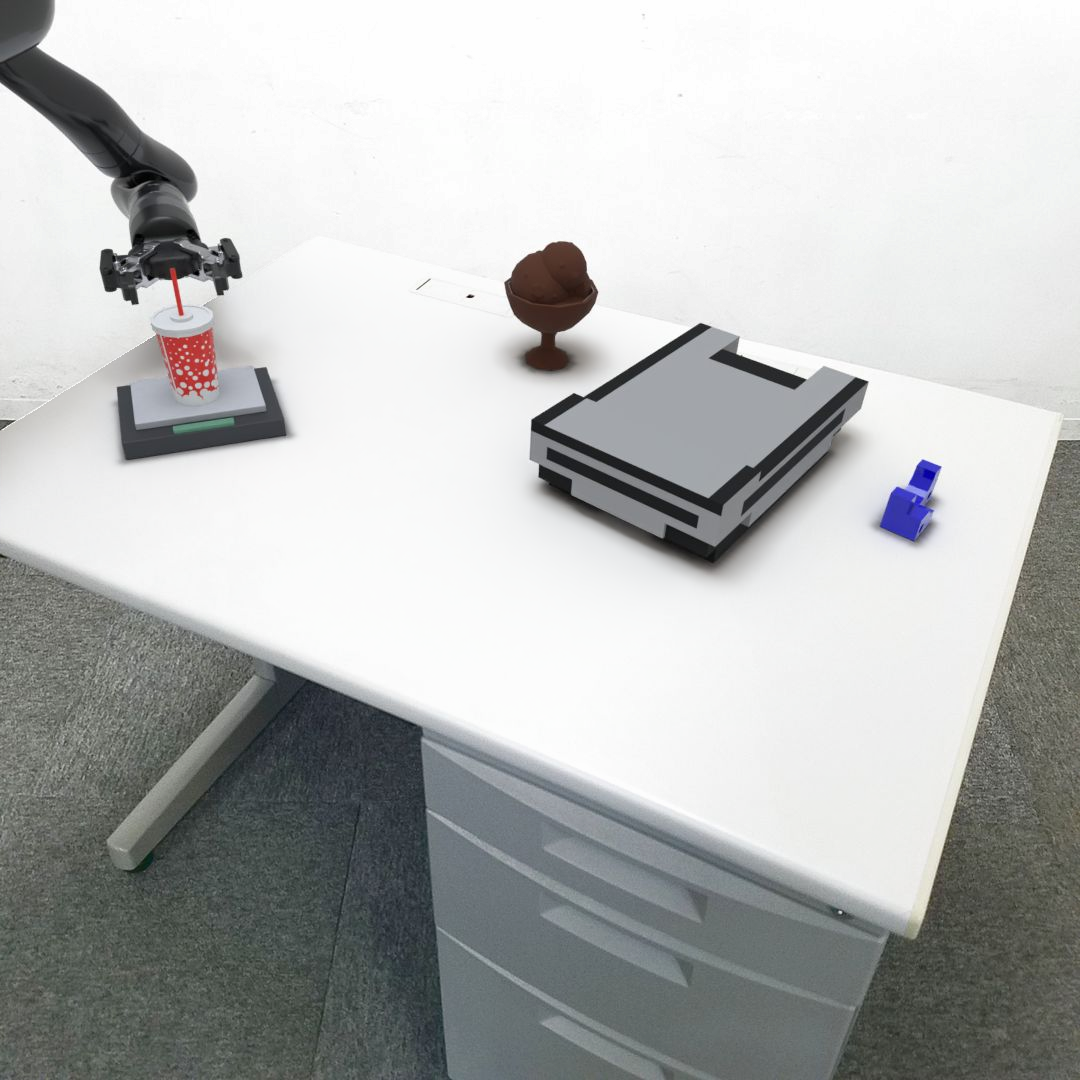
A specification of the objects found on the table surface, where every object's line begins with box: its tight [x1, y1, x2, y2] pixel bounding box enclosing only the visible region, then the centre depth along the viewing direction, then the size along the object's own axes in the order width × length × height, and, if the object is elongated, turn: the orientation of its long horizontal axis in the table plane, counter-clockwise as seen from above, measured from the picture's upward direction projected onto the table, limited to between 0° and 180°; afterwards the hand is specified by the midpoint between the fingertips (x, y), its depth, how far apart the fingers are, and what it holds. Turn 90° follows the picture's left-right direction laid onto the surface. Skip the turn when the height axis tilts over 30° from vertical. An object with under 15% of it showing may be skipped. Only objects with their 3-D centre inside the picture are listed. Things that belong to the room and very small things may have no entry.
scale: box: [116, 365, 287, 460], centre depth 103 cm, size 16×12×3 cm
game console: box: [529, 322, 870, 564], centre depth 99 cm, size 21×32×8 cm, turn 142°
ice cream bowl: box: [503, 240, 599, 372], centre depth 113 cm, size 11×11×15 cm
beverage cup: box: [149, 268, 220, 406], centre depth 98 cm, size 6×6×14 cm
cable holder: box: [879, 458, 943, 542], centre depth 94 cm, size 8×4×4 cm, turn 141°
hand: (177, 291), depth 100 cm, fingers open, 8 cm apart
